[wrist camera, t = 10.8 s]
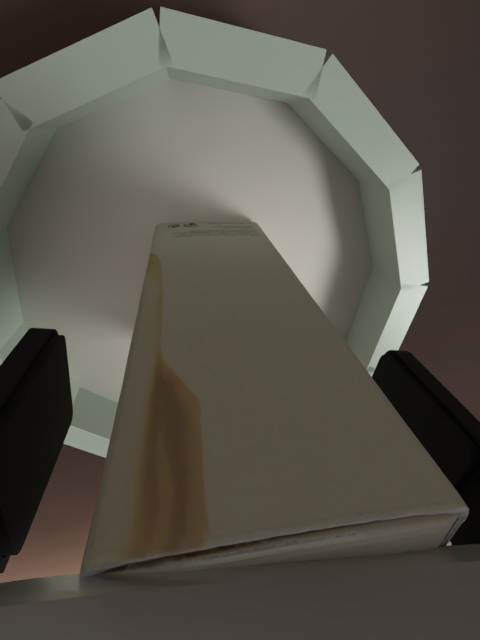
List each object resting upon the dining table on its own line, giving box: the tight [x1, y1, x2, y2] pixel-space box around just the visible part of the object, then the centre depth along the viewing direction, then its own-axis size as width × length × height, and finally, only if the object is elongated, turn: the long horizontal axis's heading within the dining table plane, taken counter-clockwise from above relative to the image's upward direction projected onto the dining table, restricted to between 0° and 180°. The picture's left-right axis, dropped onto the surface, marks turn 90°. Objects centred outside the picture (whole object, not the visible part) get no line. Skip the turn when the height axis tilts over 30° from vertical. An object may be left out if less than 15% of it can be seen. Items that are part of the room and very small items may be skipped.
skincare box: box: [80, 221, 469, 577], centre depth 10 cm, size 6×4×12 cm
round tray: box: [0, 7, 429, 458], centre depth 15 cm, size 18×18×3 cm
